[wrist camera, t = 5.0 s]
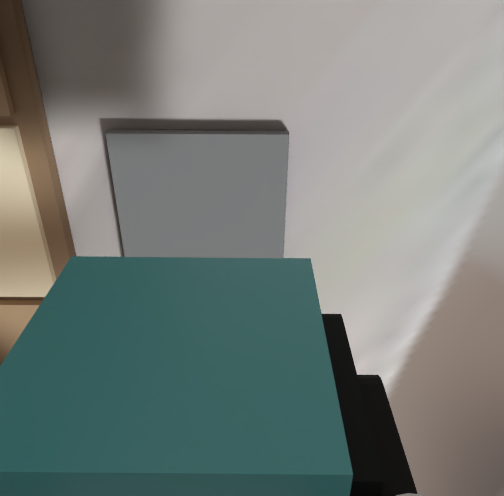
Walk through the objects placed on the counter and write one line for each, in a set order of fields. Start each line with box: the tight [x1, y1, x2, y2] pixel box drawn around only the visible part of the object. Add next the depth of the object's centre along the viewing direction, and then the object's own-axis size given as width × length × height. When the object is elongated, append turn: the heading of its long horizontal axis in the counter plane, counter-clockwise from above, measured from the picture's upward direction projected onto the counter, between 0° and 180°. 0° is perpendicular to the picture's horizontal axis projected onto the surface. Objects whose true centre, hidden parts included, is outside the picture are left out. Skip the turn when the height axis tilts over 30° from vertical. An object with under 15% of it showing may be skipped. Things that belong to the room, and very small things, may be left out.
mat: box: [105, 130, 289, 258], centre depth 17 cm, size 6×6×1 cm
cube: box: [0, 256, 353, 496], centre depth 9 cm, size 5×5×5 cm
